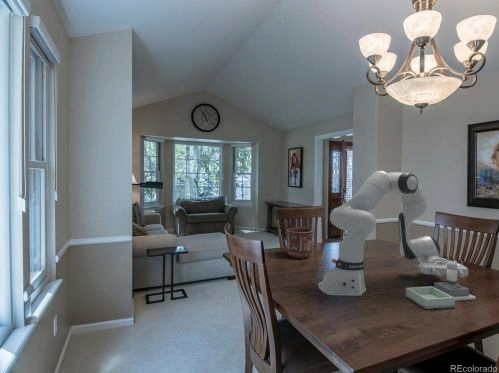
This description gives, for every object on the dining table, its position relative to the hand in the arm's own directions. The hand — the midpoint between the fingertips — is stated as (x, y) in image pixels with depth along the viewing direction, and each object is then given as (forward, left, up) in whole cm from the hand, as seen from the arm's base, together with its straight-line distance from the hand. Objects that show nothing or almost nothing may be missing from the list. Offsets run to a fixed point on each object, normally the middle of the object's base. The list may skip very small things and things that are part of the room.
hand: (450, 274), depth 141 cm
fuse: (0, 0, -8) cm, 8 cm away
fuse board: (0, 0, -9) cm, 9 cm away
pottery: (-51, +71, -9) cm, 88 cm away
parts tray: (-16, -6, -9) cm, 19 cm away
